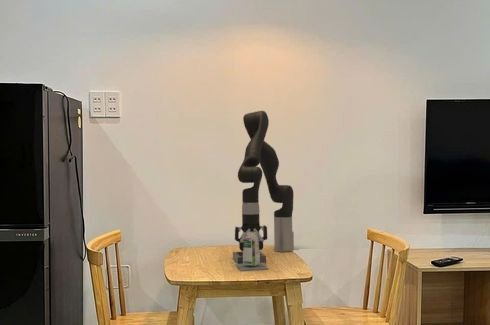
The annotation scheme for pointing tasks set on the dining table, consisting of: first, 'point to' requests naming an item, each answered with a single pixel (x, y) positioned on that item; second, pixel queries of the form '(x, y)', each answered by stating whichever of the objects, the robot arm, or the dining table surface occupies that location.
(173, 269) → the dining table surface
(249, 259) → the syrup box
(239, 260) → the holder
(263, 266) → the mat
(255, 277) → the dining table surface
